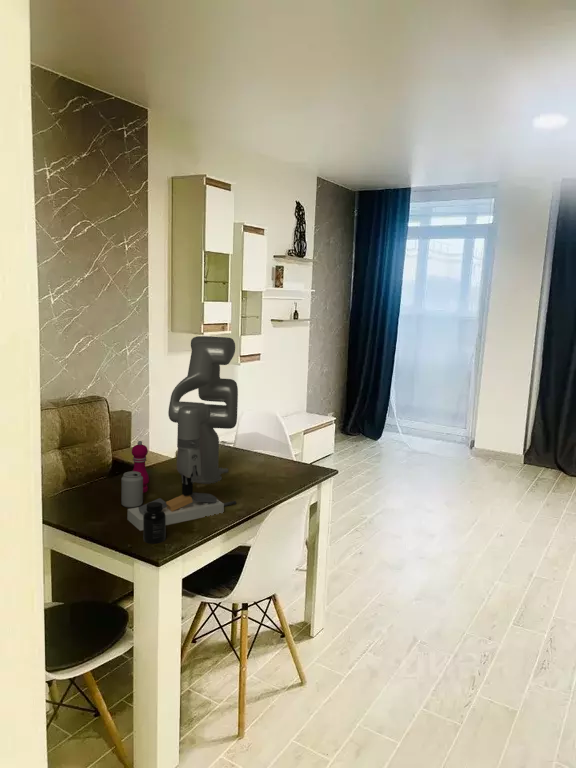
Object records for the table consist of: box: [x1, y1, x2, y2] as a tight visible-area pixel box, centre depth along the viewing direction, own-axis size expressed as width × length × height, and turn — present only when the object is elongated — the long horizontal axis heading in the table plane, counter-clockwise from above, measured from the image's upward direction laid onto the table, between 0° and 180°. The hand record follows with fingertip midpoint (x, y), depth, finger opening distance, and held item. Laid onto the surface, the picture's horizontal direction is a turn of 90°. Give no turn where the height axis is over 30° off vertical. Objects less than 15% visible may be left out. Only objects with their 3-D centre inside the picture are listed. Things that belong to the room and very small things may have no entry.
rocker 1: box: [138, 497, 167, 515], centre depth 200 cm, size 8×5×2 cm, turn 126°
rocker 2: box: [165, 494, 193, 511], centre depth 206 cm, size 8×5×2 cm, turn 126°
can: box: [120, 470, 144, 509], centre depth 216 cm, size 8×8×12 cm
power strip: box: [126, 499, 237, 532], centre depth 210 cm, size 39×11×5 cm, turn 126°
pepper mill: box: [131, 440, 150, 494], centre depth 230 cm, size 7×7×20 cm
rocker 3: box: [189, 492, 218, 503], centre depth 211 cm, size 8×5×2 cm, turn 126°
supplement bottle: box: [142, 501, 167, 545], centre depth 187 cm, size 7×7×12 cm
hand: (187, 494), depth 207 cm, fingers closed
